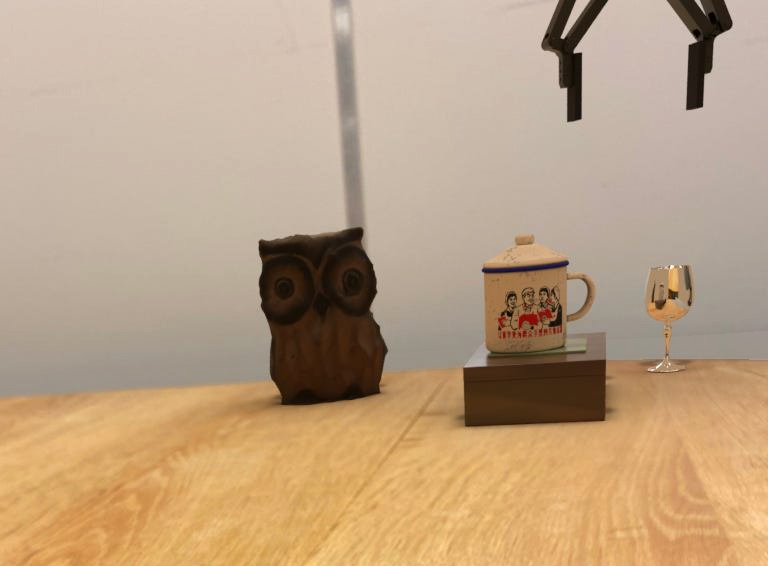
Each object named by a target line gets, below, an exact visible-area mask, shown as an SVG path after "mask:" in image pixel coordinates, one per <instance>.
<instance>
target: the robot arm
mask: <svg viewBox="0 0 768 566" xmlns="http://www.w3.org/2000/svg"><path fill="white" fill-rule="evenodd" d="M576 2H577V0H558V1H557V4H556V6H555V9H554V11H553V13H552V16H551V19H550V20H549V23H548V26H547V28H546V30H545V33H544V36H543V38H542V41H541V44H540V48H541V49H542V51H545V52H550V53H553V54H554V55H555V56H556V57H558V86H559V89H560V90H562V89H566V123H574V122H577V121H581V120H582V119H583V52H581V51H580V52H575V50H576V48H577V47H578V45H579V44H580V43H581V41H582V39H583V38H584V37H585V35H586V33H587V32H588V31H589V29H590V28H591V26H592V25H593V23H594V22H595V21H596V19H597V18H598V16H599V15H600V14H601V12H602V10H603V9H604V8H605V6H606V5H607V3H608V2H609V0H589V1H588V2H587V4H586V5H585V7H584V8H583V10H582V11H581V13H580V14H579V16H578V17H577V19H576V20H575V22H574V23H573V24H572V26H571V27H570V29H569V30H568V32H567V34H565V36H564V37H563V38H562V36H563V33H564V31H565V29H566V26H567V24H568V21H569V19H570V17H571V14H572V11H573V9H574V7H575V4H576ZM666 2H667V3H668V4H669V5H670V7H671V8H672V10H673V11H674V13H675V14H676V15H677V16H678V18H679V19H680V21H681V22H682V23H683V25H684V26H685V27H686V28H687V30H688V31H689V33H690V34H691V35H692V37H693V38H694V40H695V42H692V43H689V44H688V48H687V70H686V71H687V73H686V74H687V77H686V97H685V101H686V102H685V111H693V110H698V109H702V108H704V100H705V99H704V98H705V97H704V96H705V76H706V75H709V74H711V73H712V71H713V65H714V45H715V40H716V38H717V37H718V36H720V35H723V33H725V32H728V31H730V30H731V29H733V25H734V21H733V19H732V17H731V14H730V11H729V8H728V6H727V4H726V1H725V0H699V2H700V4H701V6H699V4H698V3H697V1H696V0H666ZM701 7H702V8H701Z"/></svg>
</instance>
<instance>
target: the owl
mask: <svg viewBox="0 0 768 566" xmlns="http://www.w3.org/2000/svg"><path fill="white" fill-rule="evenodd" d="M364 231H365V230H364V228H363V227H362V226H356V227H350V228H346V229H342V230H338V231H328V232H321V233H317V234H316V233H315V234H299V233H296V234H294V235H289V236H285V237H283V238H279V237H277V238H275V239H271V240H266V239H263V238H260V239H259V240H258V256H259V258H260V261H261V272H260V275H259V278H258V283H257V284H258V288H259V289H258V290H259V291H258V292H259V297H260V299H261V301H260V309H261V311H262V312H263V315H264V317H265V319H266V321H267V324H268V327H269V332H270V336H271V340H270V347H269V375H270V379H271V380H272V382H273V383H274V385H275V386H276V388H277V389H278V392H279V393H280V396H281V402H280V404H281V405H285V406H286V405H288V406H289V405H291V406H295V405H296V406H297V405H298V406H300V405H301V406H302V405H303V406H304V405H314V404H315V405H316V404H319V403H332V402H338V401H345V400H347V401H349V400H350V401H351V400H356V399H360V398H365V397H368V396H371V395H376V394H379V393H381V389H380V383H381V382H382V375H383V372H384V366H385V361H386V356H387V354H388V352H389V348H388V346H387V344H386V341H385V339H384V337H383V334H382V333H381V326H380V325H379V323H378V322H377V321H376V320H375V318H374V312H372V311H371V307H372V305H373V302H374V300H375V298H376V296H377V295H378V293H379V292H378V288H377V285H378V279H377V276H376V272H375V268H374V263H373V262H372V260H371V259H370V257H369V255H368V253H367V252H366V251H365V248H364V247H363V244H362V243H363V242H362V241H363V238H364V233H365V232H364Z"/></svg>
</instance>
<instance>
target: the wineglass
mask: <svg viewBox="0 0 768 566" xmlns="http://www.w3.org/2000/svg"><path fill="white" fill-rule="evenodd" d="M645 281H646V282H645V286H644V293H643V305H644V306H643V307H644V309H645V312H646V314H647V315H648V316H649V317H650V318H651V319H653V320H655V321H657V322H660V323H663V324H665V325H664V327H663V332H662V333H663V337H664V345H665V346H664V358H663V360H662V361H661V363H659V364H657V365H655V366H651V367H649V368H647V372H652V373H673V372H679V371H684V370H686V366H684V365H679V364H676V363H675V362H672V360H671V357H670V343H671V337H672V334H673V328H672V325H671V324H672V323H674V322H676V321H679V320H681V319H682V318H684V317H685V316H687V315H688V314H689V313H690V311H691V310H692V308H693V306H694V301H695V295H696V294H695V291H696V289H695V281H694V275H693V270H692V265H689V264H680V265H679V264H677V265H675V264H674V265H663V266H656V267H650V268H649V269H648V274H647V278H646V280H645Z"/></svg>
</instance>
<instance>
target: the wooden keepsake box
mask: <svg viewBox="0 0 768 566" xmlns="http://www.w3.org/2000/svg"><path fill="white" fill-rule="evenodd" d="M462 377H463V408H464V409H463V410H464V426H465V427H475V426H477V427H478V426H498V425H499V426H500V425H522V424H523V425H525V424H545V423H547V424H549V423H569V422H572V423H573V422H593V421H606V400H607V399H606V397H607V396H606V395H607V392H606V388H607V386H606V385H607V334H606V331H601V332H600V331H599V332H583V333H567V341H566V344H565V345H564V346H562V347H559V348H556V349H551V350H545V351H537V352H525V353H496V352H491V351H488V350H487V349H486V339H484V340H483V341H482V343H481V344H480V345H479V347H478V348H477V349H476V350H475V351H474V353H473V354H472V356H471V357H470V358H469V360H467V362H466V363H465V364H464V366H463V368H462Z"/></svg>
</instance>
